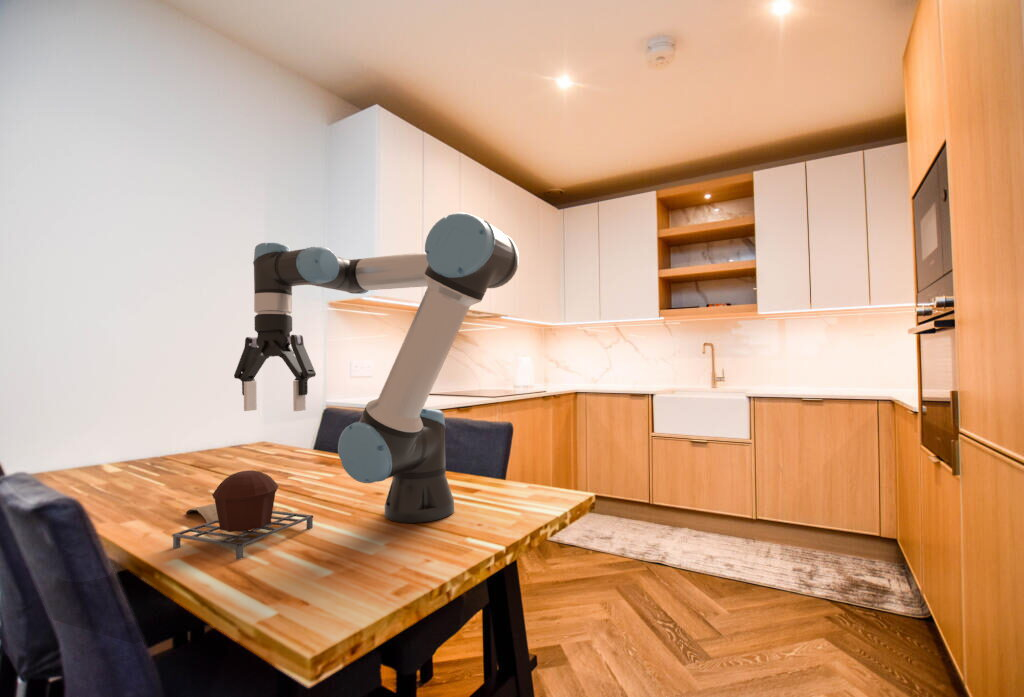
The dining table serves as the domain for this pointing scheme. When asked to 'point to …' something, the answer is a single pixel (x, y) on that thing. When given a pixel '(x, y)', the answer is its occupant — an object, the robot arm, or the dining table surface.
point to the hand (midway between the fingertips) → (274, 410)
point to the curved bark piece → (206, 512)
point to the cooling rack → (239, 546)
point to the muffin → (245, 501)
